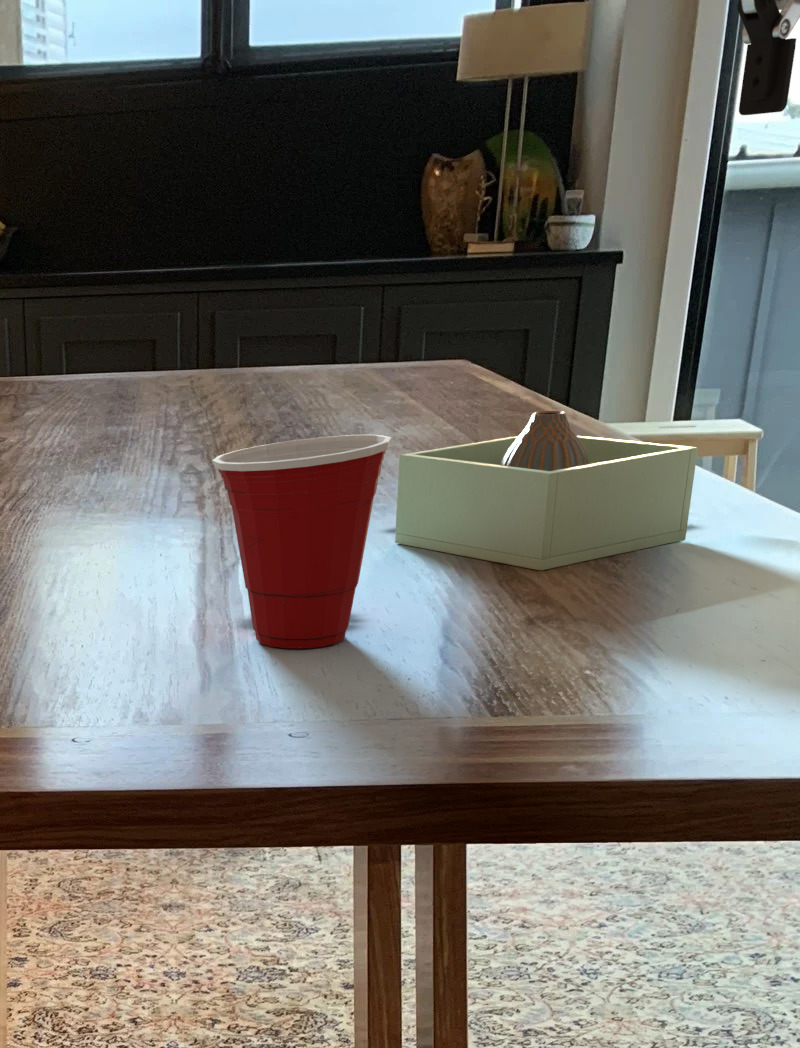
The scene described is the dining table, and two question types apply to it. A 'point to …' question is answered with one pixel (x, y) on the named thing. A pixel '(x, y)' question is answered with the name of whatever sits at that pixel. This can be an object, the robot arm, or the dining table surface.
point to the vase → (546, 444)
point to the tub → (544, 502)
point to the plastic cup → (302, 531)
